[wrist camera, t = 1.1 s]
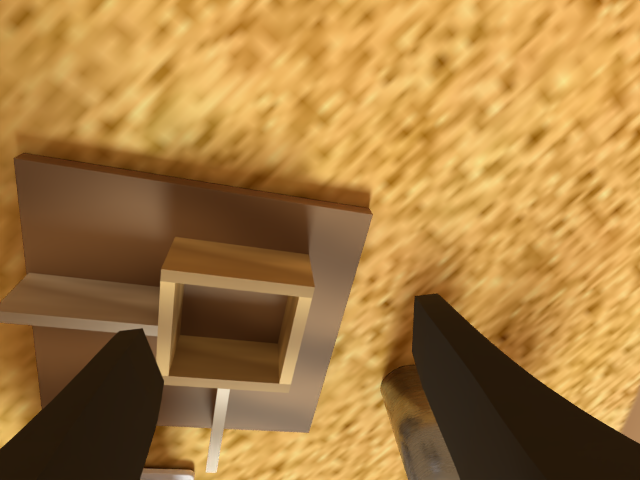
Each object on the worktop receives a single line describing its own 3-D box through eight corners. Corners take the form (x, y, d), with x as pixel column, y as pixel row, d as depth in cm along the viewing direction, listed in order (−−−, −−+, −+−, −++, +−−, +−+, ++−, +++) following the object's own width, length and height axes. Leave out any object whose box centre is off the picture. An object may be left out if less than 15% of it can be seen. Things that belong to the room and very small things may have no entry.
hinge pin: (423, 405, 29) (466, 509, 23) (374, 402, 28) (405, 509, 22) (440, 367, 27) (491, 467, 21) (389, 363, 26) (426, 465, 20)
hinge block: (307, 422, 28) (313, 476, 25) (49, 409, 25) (15, 468, 22) (369, 208, 21) (388, 242, 18) (23, 153, 18) (-32, 182, 15)
